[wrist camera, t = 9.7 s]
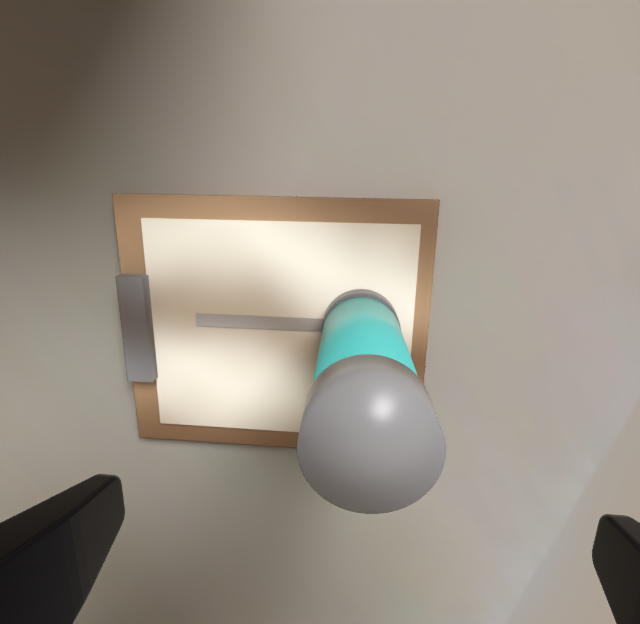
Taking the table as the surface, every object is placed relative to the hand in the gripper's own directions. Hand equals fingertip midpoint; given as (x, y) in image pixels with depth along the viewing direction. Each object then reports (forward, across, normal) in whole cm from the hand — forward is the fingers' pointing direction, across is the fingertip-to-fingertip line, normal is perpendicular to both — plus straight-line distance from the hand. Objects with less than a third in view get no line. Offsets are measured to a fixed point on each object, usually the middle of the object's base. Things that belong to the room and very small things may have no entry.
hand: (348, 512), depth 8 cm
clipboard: (+12, +4, 0) cm, 13 cm away
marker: (+12, 0, 0) cm, 12 cm away
